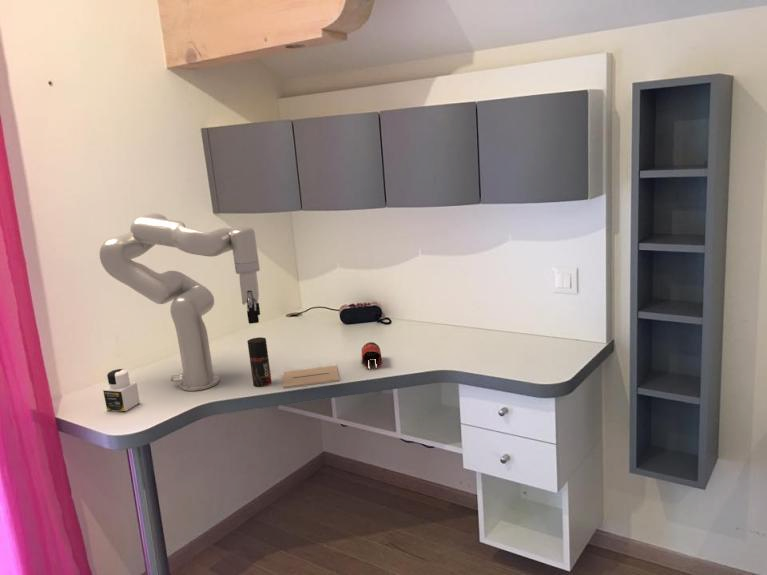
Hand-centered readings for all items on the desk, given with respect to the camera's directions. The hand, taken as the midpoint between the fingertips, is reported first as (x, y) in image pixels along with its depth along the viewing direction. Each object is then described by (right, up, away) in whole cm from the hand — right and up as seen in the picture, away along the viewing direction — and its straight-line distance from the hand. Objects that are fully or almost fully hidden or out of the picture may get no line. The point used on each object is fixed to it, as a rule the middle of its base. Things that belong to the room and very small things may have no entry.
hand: (254, 319), depth 210 cm
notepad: (+17, -20, +7) cm, 27 cm away
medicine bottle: (-40, -28, -5) cm, 49 cm away
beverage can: (+38, -16, +15) cm, 44 cm away
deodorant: (+2, -22, +5) cm, 22 cm away
